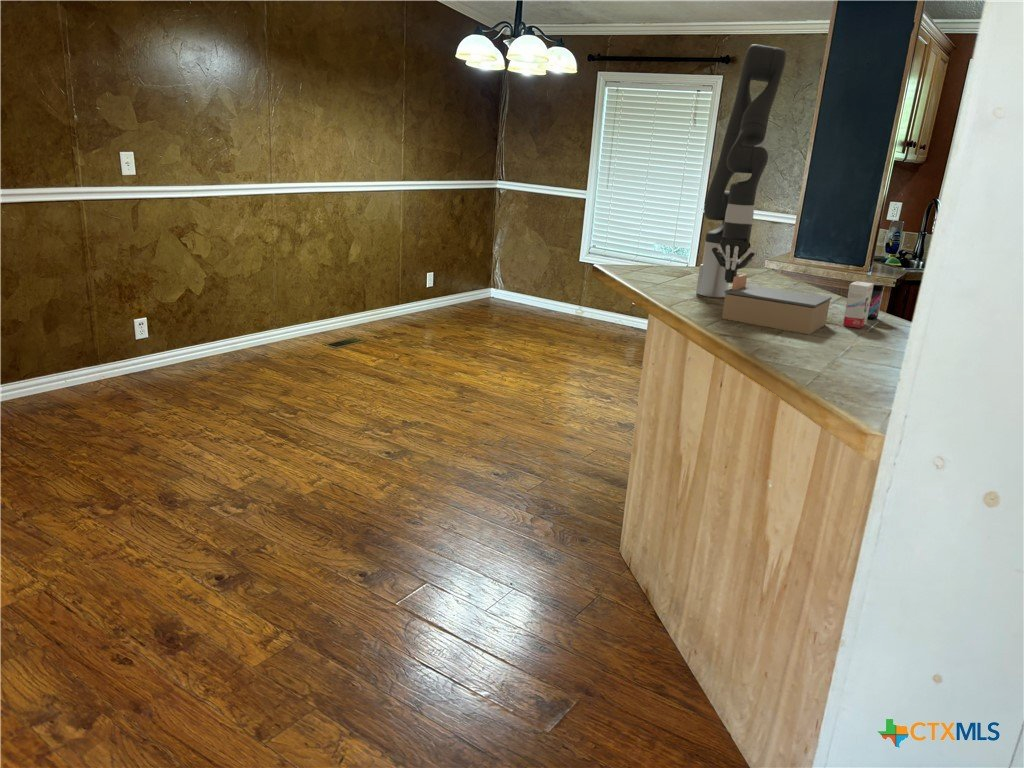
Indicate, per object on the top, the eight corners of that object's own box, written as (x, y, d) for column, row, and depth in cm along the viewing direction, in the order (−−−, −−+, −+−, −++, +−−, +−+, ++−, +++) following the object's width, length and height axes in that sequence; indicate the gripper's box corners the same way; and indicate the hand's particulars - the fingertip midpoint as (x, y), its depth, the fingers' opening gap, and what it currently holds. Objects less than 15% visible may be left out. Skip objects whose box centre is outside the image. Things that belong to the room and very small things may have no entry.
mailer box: (721, 318, 206) (725, 294, 204) (741, 310, 218) (745, 287, 216) (809, 334, 193) (814, 308, 191) (825, 324, 205) (830, 300, 203)
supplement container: (854, 318, 216) (861, 283, 213) (851, 314, 222) (857, 280, 219) (879, 321, 214) (887, 285, 211) (875, 316, 220) (882, 282, 217)
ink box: (860, 329, 202) (868, 286, 199) (841, 325, 205) (849, 284, 202) (867, 324, 209) (875, 283, 206) (848, 321, 212) (856, 280, 208)
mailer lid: (724, 292, 204) (726, 278, 203) (745, 286, 216) (747, 272, 215) (814, 307, 190) (817, 291, 189) (831, 299, 203) (834, 284, 202)
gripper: (710, 219, 206) (702, 280, 211) (757, 224, 199) (747, 287, 204) (721, 218, 212) (712, 278, 217) (766, 222, 204) (756, 284, 210)
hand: (729, 282), depth 211 cm, fingers closed
